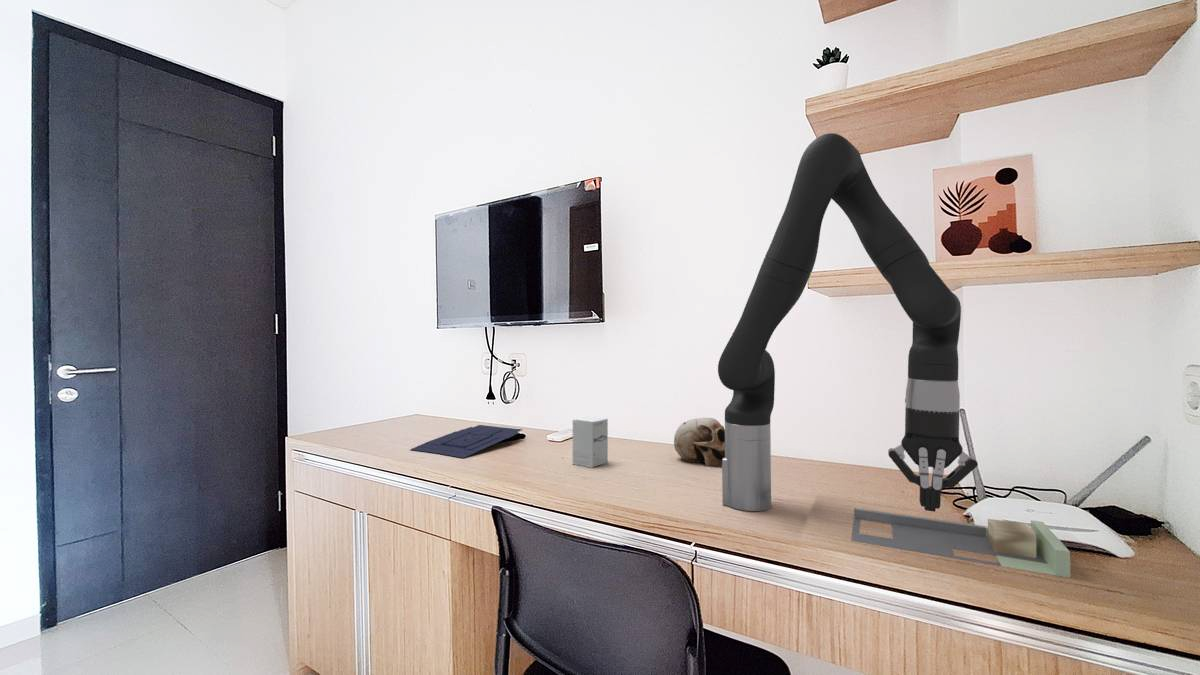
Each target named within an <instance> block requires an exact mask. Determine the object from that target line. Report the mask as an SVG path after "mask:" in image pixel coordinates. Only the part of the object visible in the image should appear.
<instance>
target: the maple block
mask: <svg viewBox="0 0 1200 675" xmlns="http://www.w3.org/2000/svg"><path fill="white" fill-rule="evenodd" d="M987 527H988V541H989V543H990V544H991V546H992V548H993V550H994V552H1000V553H1007V554H1013V555H1019V556H1025V557H1032V558H1036V534H1035V533H1034V532H1033V530H1032V529H1031V526H1029V524H1028V523H1023V522H1016V521H1015V522H1014V521H1008V520H1000V519H993V518H987Z"/></svg>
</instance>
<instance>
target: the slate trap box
mask: <svg viewBox="0 0 1200 675" xmlns="http://www.w3.org/2000/svg"><path fill="white" fill-rule="evenodd" d="M853 511H854V512H853V514H854V515H853V525H852V531H851V537H850V538H851V540H850V541H851V542H856V543H863V544H869V545H874V546H881V547H886V548H893V549H897V550H898V549H899V550H904V551H910V552H915V553H922V554H927V555H934V556H940V557H944V558H945V557H946V558H949V559H957V560H962V561H964V560H965V561H969V562H975V563H981V564H986V565H992V566H998V567H1002V568H1003V567H1006V568H1010V569H1011V568H1012V569H1016V570H1022V571H1029V572H1033V573H1034V572H1035V573H1039V574H1045V575H1051V576H1056V577H1057V576H1058V577H1064V578H1071V551H1070V550H1069V549H1068V548H1067V547H1066V546H1065V544H1064V543H1063V542H1062V541H1061V540H1060V539H1059V538H1058V536H1056V535H1055V533H1054V532H1053V531H1052V530H1051V529H1050V528H1049V527H1048V526H1047V524H1045V522H1044V521H1039V520H1032V519H1031V520H1030V528H1031V529H1032V530H1033V532H1034V533H1035V534H1036V558H1032V557H1025V556H1019V555H1013V554H1007V553H1000V552H994V550H993V548H992V546H991V544H990V543H989V541H988V525H987V526H986V525H979V524H972V523H966V522H965V523H964V522H956V521H951V520H945V519H944V520H943V519H936V518H931V517H921V516H914V515H908V514H907V515H906V514H900V513H894V512H893V513H892V512H885V511H879V510H872V509H865V508H857V507H854V508H853ZM861 520H866V521H873V522H879V523H886V524H891V530H892V538H890V537H884V536H879V535H871V534H866V533H860V528H861V527H860V525H861ZM954 550H958V551H965V552H969V553H977V554H981V555H982V554H983V555H989V556H995V557H996V559H997V560H998V562H996V561H990V560H984V559H983V560H982V559H979V558H972V557H971V558H970V557H966V556H958V555H955V553H954Z"/></svg>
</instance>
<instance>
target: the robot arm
mask: <svg viewBox="0 0 1200 675" xmlns="http://www.w3.org/2000/svg"><path fill="white" fill-rule="evenodd" d="M795 173H796V174H795V176H794V181H793V184H792V187H791V191H790V194H789V196H788V199H787V204H786V206H785V209H784V211H783V214H782V216H781V218H780V221H779V223H778V225H777V227H776V230H775V232H774V235H773V237H772V240H771V242H770V244H769V247H768V249H767V251H766V253H765V256H764V258H763V260H762V262H761V265H760V268H759V271H758V273H757V276H756V279H755V281H754V283H753V286H752V289H751V291H750V294H749V296H748V299H747V301H746V303H745V306H744V308H743V311H742V314H741V316H740V318H739V320H738V323H737V325H736V326H735V329H734V330H733V332H732V334H731V336H730V338H729V340H728V341H727V344H726V345H725V346H724V349H723V350H722V353H721V355H720V357H719V360H718V364H717V374H718V378H719V381H720V382H721V384H722V385H723V386H724V387H725V388H726V389H729V390H731V391H732V392H733V393H732V398H731V401H730V402H729V404H728V405H727V406H726V408H725V409H724V429H725V458H723V460H722V467H721V470H722V471H721V472H722V474H721V475H722V476H721V477H722V478H721V479H722V487H721V489H722V505H723V506H728V507H731V508H733V509H736V510H740V511H746V512H747V511H748V512H760V511H766V510H769V509H770V508H772V456H771V455H772V454H771V453H772V451H771V449H772V448H771V447H772V446H771V441H772V440H771V436H772V434H771V417H772V412H773V409H774V407H775V406H774V404H775V385H776V384H775V381H776V376H775V375H776V370H775V364H774V360H773V358H772V356H771V354H770V353H769V352H768V350H766V349H767V347H768V344H769V341H770V340H771V337H772V336H773V333H774V331H775V330H776V328H777V327H778V325H780V323H781V322H782V321H783V320H784V318H785V317H786V316H787V315H788V314H789V313H790V311H791V310H792V309H793V308H794V306H795V305H796V303H797V302H798V301H799V299H800V297H801V296H802V294H803V292H804V290H805V288H806V286H807V284H808V281H809V279H810V277H811V274H812V272H813V269H814V267H815V263H816V261H817V260H816V259H817V255H818V250H819V243H820V237H821V230H822V224H823V220H824V217H825V214H826V211H827V209H828V206H829V204H830V203H831V201H833V202H835V204H837V206H838V207H839V208H840V209H841V211H843V213H844V214H845V215H846V216H847V218H848V219H849V221H850V223H851V225H852V226H853V228H854V230H855V232H856V234H857V236H858V238H859V241H860V243H861V245H862V247H863V248H864V250H865V252H866V253H867V255H868V257H869V258H870V259H871V261H872V263H873V264H874V265H875V266H876V269H877V270H878V272H879V273H880V274H881V276H882V277H883V278H884V280H886V282H887V283H888V284H889V286H890V287H891V289H892V291H893V293H894V295H895V297H896V299H897V300H898V302H899V304H900V306H901V307H902V309H903V311H904V312H905V314H906V316H908V318H909V319H910V321H912V344H911V346H910V348H909V351H908V356H907V357H908V358H907V360H908V361H907V362H908V363H907V383H906V389H905V398H904V403H905V408H904V409H905V414H904V422H905V424H904V435H903V437H902V439H901V442H900V443H901V444H899V445H897V446H896V447H894V448H892V447H891V448H889V449H888V451H887V452H888V453H887V454H888V457H889V458H890V459H891V461H892V462H893V463H894V464H895V466H896V467H897V468H898V469H899V471H900V472H901V473H902V475H903V476H904V477H905V478H906V479H907V480H908V481H909V482H910V483H911V484H912V483H913V484H914V485H918V487H919V504H920V506H921V507H923V508H924V511H927V512H934V513H935V512H936V509H938V510H939V509H940V508H941V493H942V490H943V489H947V488H950V489H953V488H954V487H956V486H957V485H958V484H959V483H960V482H961V481H963V480H964V479H965V478H966V477H967V476H968V475H969V474H970V473H971V472H973V470H974V469H976V468H977V467H978V465H979V464H978V461H977V459H975V458H974V457H972V456H969V455H968V454H967V453H966V452H964V451H963V446H962V444H961V443H960V406H961V405H960V404H961V403H960V402H961V401H960V400H961V398H960V397H961V396H960V394H961V393H960V387H959V353H958V352H959V351H958V343H959V338H960V337H959V336H960V329H961V328H960V327H961V321H962V320H961V319H962V317H961V316H962V307H961V302H960V299H959V297H958V296H957V295H956V294H955V293H954V292H953V291H952V290H951V289H950V288H949V287H948V286H947V285H946V283H945V282H944V281H943V279H942V278H941V276H939V275H938V273H937V272H936V271H935V270H934V268H933V267H932V266H931V265H930V261H929V259H928V257H927V256H926V254H925V252H924V251H923V250H922V248H921V247H920V245H919V244H918V243H917V241H916V240H915V239H914V238H913V236H912V235H911V233H910V232H909V231H908V230H907V228H906V227H905V225H903V223H902V222H901V221H900V220H899V219H898V217H897V216H896V214H894V213H893V211H892V210H891V208H890V207H888V205H887V203H886V202H885V201H884V200H883V198H882V197H881V195H880V193H879V192H878V190H877V188H876V187H875V185H874V183H873V181H872V179H871V177H870V174H869V173H868V171H867V168H866V166H865V164H864V161H863V160H862V156H861V154H860V152H859V150H858V149H857V148H856V147H855V145H854V144H852V142H850V141H849V140H848V139H847V138H845V137H844V136H843V135H841V134H838V133H831V132H830V133H825V134H822V135H820V136H818V137H817V138H815V139H813V141H811V143H809V144H808V146H807V147H806V148H805V150H804V152H803V153H802V156H801V158H800V161H799V164H798V167H797V170H796V172H795ZM904 452H906V453H907V455H908V456H909V457H910V459H911V460H912V461H913V462H914V464H915V465H917V466H918V467H917V468H918V474H916V473H915V472H914V471H913V469H912V468H911V467H910V466H909V465H908V464H907V462H906V461H905V459H906V456H905V453H904ZM957 458H958V459H957ZM956 459H957V467H956V468H955V467H954V469H953V470H952V471H951V472H950V473H949V474H948V475H946V476H945V477H944V472H945V469H946V468H948V467H949V466H950V465H952V463H954V461H955V460H956ZM929 468H931V469H932V474H931V481H930V473H929ZM930 482H931V483H930Z"/></svg>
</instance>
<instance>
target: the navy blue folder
mask: <svg viewBox="0 0 1200 675" xmlns="http://www.w3.org/2000/svg"><path fill="white" fill-rule="evenodd" d="M523 430H524V429H522V428H513V427H511V428H510V427H500V426H494V425H483V424H478V425H476V426H473V427H472V426H469V427H466V428H462V429H460V430H457V431H456V430H455V431H453V432H450V433H448V434H446V435H442V436H439V437H437V438H434V439H431V440H429V441H427V442H424V443H422V444H419V445H418V446H415V447H412V448H411V449H409V450H410V451H417V452H419V451H420V452H426V453H433V454H440V455H446V456H452V457H457V458H462V459H463V458H466V457H468V456H469V457H470V456H472V455H473V454H476V453H478V452H481V451H482V450H484V449H485V448H488V447H490V446H492V445H495V444H498V443H499V442H502V441H503V440H504V441H505V440H506V439H510V438H511V437H514V436H515V435H518V434H519V433H520V432H521V431H523Z"/></svg>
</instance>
